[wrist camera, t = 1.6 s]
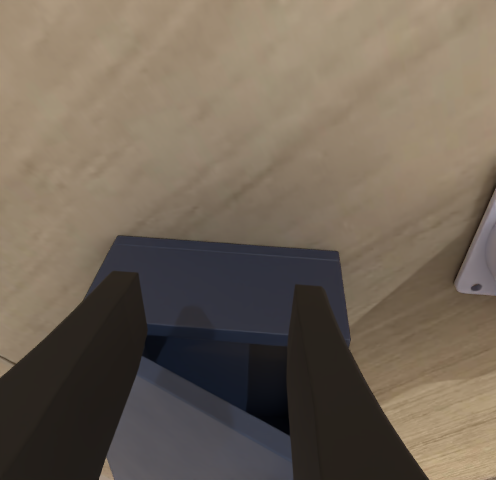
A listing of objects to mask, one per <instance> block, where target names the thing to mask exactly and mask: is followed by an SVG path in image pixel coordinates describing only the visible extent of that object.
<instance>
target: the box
mask: <svg viewBox="0 0 496 480" xmlns="http://www.w3.org/2000/svg"><path fill="white" fill-rule="evenodd" d="M112 271H125V272H138V274H139V280H140V286H141V292H142V298H143V304H144V310H145V316H146V322H147V328H148V332H147V336H146V340H145V345H144V349H143V353H142V356H143V357H145V358H147V359H149V360H151V361H153V362H155V363H156V364H158V365H160V366H162V367H164V368H166V369H167V370H169V371H171V372H173V373H175V374H177V375H179V376H180V377H182V378H184V379H186V380H188V381H190V382H192V383H193V384H195V385H197V386H199V387H201V388H203V389H204V390H206V391H208V392H210V393H212V394H214V395H216V396H217V397H219V398H221V399H223V400H225V401H227V402H229V403H230V404H232V405H234V406H236V407H238V408H240V409H241V410H243V411H245V412H247V413H249V414H251V415H253V416H254V417H256V418H258V419H260V420H262V421H264V422H266V423H267V424H269V425H271V426H273V427H275V428H277V429H279V430H280V431H282V432H284V433H286V434H288V435H290V426H289V412H288V398H287V383H286V376H287V342H288V334H289V326H290V319H291V311H292V304H293V296H294V289H295V284H299V285H312V286H322V287H323V288H324V289H325V291H326V294H327V297H328V300H329V303H330V306H331V309H332V311H333V314H334V316H335V319H336V321H337V324H338V326H339V328H340V330H341V333H342V335H343V337H344V339H345V341H346V344H347V346H348V348H349V344H350V341H351V338H350V331H349V323H348V316H347V309H346V302H345V294H344V287H343V280H342V273H341V265H340V259H339V253H338V252H337V251H326V250H312V249H298V248H284V247H270V246H256V245H243V244H229V243H215V242H201V241H187V240H173V239H159V238H145V237H132V236H117V237H116V239H115V241H114V243H113V245H112V246H111V248H110V250H109V252H108V254H107V256H106V258H105V260H104V262H103V263H102V265H101V267H100V269H99V271H98V273H97V275H96V277H95V279H94V281H93V283H92V285H91V286H90V288H89V290H88V292H87V294H86V296H85V298H86V297H87V296H88V295H89V294H90V293H91V292H92V291H93V290H94V289H95V288H96V287H97V286H98V285H99V284H100V283H101V282H102V281H103V280H104V279H105V278H106V277H107V276H108V275H109V274H110V273H111V272H112ZM85 298H84V299H85Z"/></svg>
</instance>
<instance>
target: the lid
mask: <svg viewBox="0 0 496 480" xmlns="http://www.w3.org/2000/svg"><path fill="white" fill-rule="evenodd" d="M106 457H107V460H108V463H109V466H110V469H111V471H112V474H113V477H114V480H293V467H292V453H291V440H290V435H288V434H286V433H284V432H282V431H280V430H279V429H277V428H275V427H273V426H271V425H269V424H267V423H266V422H264V421H262V420H260V419H258V418H256V417H254V416H253V415H251V414H249V413H247V412H245V411H243V410H241V409H240V408H238V407H236V406H234V405H232V404H230V403H229V402H227V401H225V400H223V399H221V398H219V397H217V396H216V395H214V394H212V393H210V392H208V391H206V390H204V389H203V388H201V387H199V386H197V385H195V384H193V383H192V382H190V381H188V380H186V379H184V378H182V377H180V376H179V375H177V374H175V373H173V372H171V371H169V370H167V369H166V368H164V367H162V366H160V365H158V364H156V363H155V362H153V361H151V360H149V359H147V358H145V357H143V356H142V357H141V361H140V365H139V369H138V372H137V375H136V378H135V380H134V383H133V386H132V389H131V391H130V394H129V397H128V400H127V402H126V405H125V408H124V410H123V413H122V416H121V418H120V421H119V424H118V426H117V429H116V432H115V435H114V437H113V440H112V443H111V445H110V448H109V451H108V453H107V456H106Z"/></svg>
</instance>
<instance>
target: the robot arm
mask: <svg viewBox="0 0 496 480" xmlns="http://www.w3.org/2000/svg"><path fill="white" fill-rule="evenodd" d="M475 284H478V285H476V286H473V285H475ZM454 285H455V287H456V289H457V291H458V292H460V293H467V294H480V295H494V296H496V189H495V191H494V193H493V196H492V198H491V200H490V203H489V205H488V207H487V209H486V212H485V214H484V216H483V218H482V221H481V223H480V225H479V228H478V230H477V232H476V234H475V237H474V239H473V241H472V243H471V246H470V248H469V250H468V252H467V255H466V257H465V259H464V262H463V264H462V266H461V268H460V271H459V273H458V275H457V277H456V280H455V283H454ZM147 332H148V328H147V322H146V316H145V310H144V304H143V298H142V292H141V286H140V280H139V274H138V272H125V271H112V272H111V273H110V274H109V275H108V276H107V277H106V278H105V279H104V280H103V281H102V282H101V283H100V284H99V285H98V286H97V287H96V288H95V289H94V290H93V291H92V292H91V293H90V294H89V295H88V296H87V297H86V298H85V299H84V300H83V301H82V302H81V303H80V304H79V305H78V306H77V307H76V308H75V309H74V311H73V312H72V313H71V314H70V315H68V316H67V317H66V318H65V319H64V320H63V321H62V322H61V323H60V324H59V325H58V326H57V327H56V328H55V329H54V330H53V331H52V332H51V333H50V334H49V335H48V336H47V337H46V338H45V339H44V340H43V341H42V342H40V343H39V344H38V345H37V346H36V347H35V348H34V349H33V350H31V351H30V352H29V353H28V354H27V355H26V356H25V357H24V358H22V359H21V360H20V361H19V362H18V363H17V364H16V365H15V366H13V367H12V368H11V369H10V370H9V371H8V372H7V373H5V374H4V375H3V376H2V377H1V378H0V480H99V477H100V474H101V471H102V468H103V465H104V462H105V459H106V456H107V453H108V451H109V448H110V445H111V443H112V440H113V437H114V435H115V432H116V429H117V426H118V424H119V421H120V418H121V416H122V413H123V410H124V408H125V405H126V402H127V400H128V397H129V394H130V391H131V389H132V386H133V383H134V380H135V378H136V375H137V372H138V369H139V365H140V361H141V357H142V353H143V349H144V345H145V340H146V336H147ZM286 383H287V398H288V412H289V426H290V440H291V453H292V467H293V480H429V479H428V477H427V476H426V475H425V473H424V472H423V470H422V469H421V468H420V466H419V465H418V463H417V462H416V460H415V459H414V458H413V456H412V455H411V453H410V452H409V451H408V449H407V448H406V446H405V445H404V443H403V442H402V440H401V439H400V437H399V435H398V434H397V432H396V431H395V429H394V428H393V426H392V425H391V423H390V422H389V420H388V418H387V417H386V415H385V413H384V412H383V410H382V409H381V407H380V405H379V403H378V402H377V400H376V398H375V397H374V395H373V393H372V391H371V390H370V388H369V386H368V384H367V383H366V381H365V379H364V377H363V375H362V373H361V371H360V370H359V368H358V366H357V364H356V362H355V360H354V358H353V356H352V354H351V352H350V350H349V348H348V346H347V344H346V341H345V339H344V337H343V335H342V333H341V330H340V328H339V326H338V324H337V321H336V319H335V316H334V314H333V311H332V309H331V306H330V303H329V300H328V297H327V294H326V291H325V289H324V288H323V287H322V286H312V285H299V284H295V289H294V296H293V304H292V311H291V319H290V326H289V334H288V342H287V376H286Z"/></svg>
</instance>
